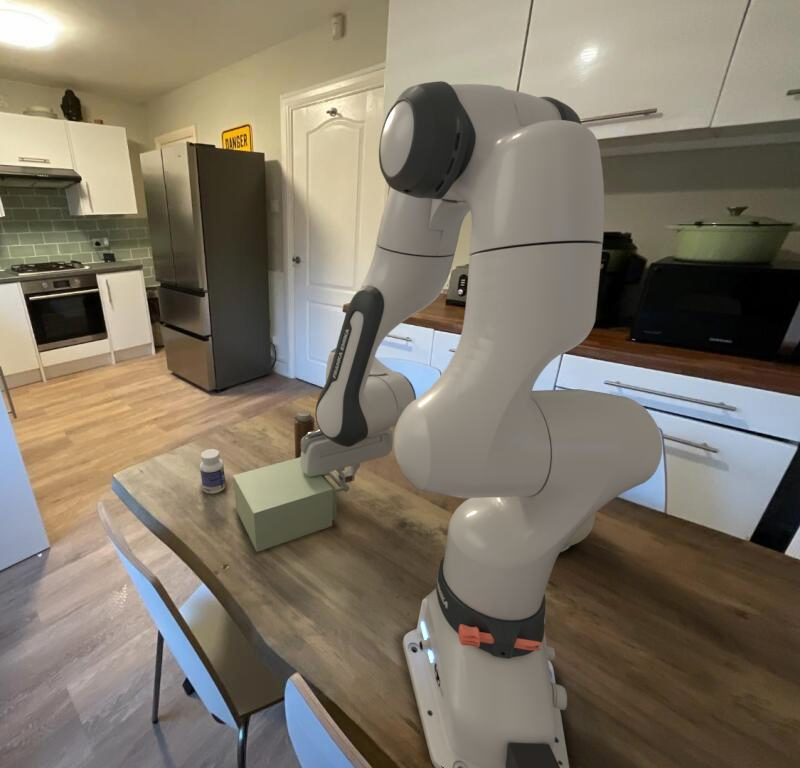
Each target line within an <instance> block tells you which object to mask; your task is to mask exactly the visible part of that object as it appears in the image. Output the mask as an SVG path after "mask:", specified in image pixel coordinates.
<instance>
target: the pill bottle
mask: <svg viewBox="0 0 800 768" xmlns="http://www.w3.org/2000/svg"><path fill="white" fill-rule="evenodd" d="M200 458H201V462H200V463H199V472H200V478H201V486H202V490H203V492H204V493H207V494H212V495H213V494H217V493H220V492H223V491H224V489H225V488H226V474H225V467H224V461H223V460H222V459H221V456H220V451H219V450H218V449H215V448H209V449H206V450H204V451H202V452H201V454H200Z"/></svg>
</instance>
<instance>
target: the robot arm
mask: <svg viewBox="0 0 800 768" xmlns="http://www.w3.org/2000/svg"><path fill="white" fill-rule="evenodd" d="M378 161H379V162H378V163H379V168H380V169H379V170H380V171H381V174H382V176H383V178H384V180H385V182H386V184H387V186H389V187H390V189H389V192H388V195H387V198H386V202H385V205H384V206H383V207H384V208H383V211H382V215H381V218H380V223H379V228H378V232H377V237H376V244H375V248H374V252H373V257H372V260H371V263H370V265H369V269H368V271H367V273H366V275H365V278H364V280H363V282H362V284H361V286H360V288H359V289H358V290H357V292H356V293H355V294H354V295H353V296H352V298H351V300H350V302H349V304H348V307H347V310H346V314H345V316H344V319H343V322H342V325H341V329H340V334H339V336H338V339H337V343H336V347H335V348H333V349H332V350H331V351H330V352H329V355H328V356H327V357H328V358H327V363H326V371H325V384H324V385H323V388H322V390H321V391H320V394H319V396H318V399H317V402H316V406H315V413H314V415H315V421H316V424H317V427H318V430H315V431H311V432H308V433H307V435H305V436H304V437H303V438H302V439H301V458H300V467H301V469H302V470H303V472H304V473H305V474H306V475H308V476H309V477H314V476H317V475H320V474H324V473H327V472H331V471H334V472H337V475H338V476H339V477H340V478H341V479H342V480H343V481H344V482H345V483H346V484H348V483H351V482H354V481H355V475H356V474H357V472H358V470H359V469H360V467H361V464H362V463H365V462H369V461H372V460H377V459H380V458H384V457H387V456H389V455H390V453H391V452H392V450H393V453H394V458H395V460H396V463H397V465H398V467H399V469H400V472H401V473H402V474H403V476H404V477H405V479H406V480H407V481H408V482H409V483H410V484H411V486H413V487H414V488H415V489H416V490H418V491H420V492H426V493H429V494H436V495H441V496H447V497H453V498H459V499H466V500H464V502H462V503H461V504H460V505H459V506H458V507H457V508H456V509H455V510H454V512H453V514H452V515H451V518H450V520H449V522H448V528H447V537H446V543H445V550H444V555H443V557H442V558H441V560H440V563H439V566H438V568H437V573H436V584H435V588H434V589H433V590H432V591H431V592H429V594H427V595H426V596H425V597H424V598H423V599H422V601H421V606H420V610H419V615H418V619H417V620H418V621H417V626H416V628H415V629H413V630H410V631H408V632H407V633H406V634H405V635H404V636H403V640H402V648H403V652H404V656H405V659H406V664H407V668H408V672H409V676H410V680H411V685H412V689H413V693H414V696H415V700H416V705H417V709H418V713H419V717H420V721H421V725H422V729H423V733H424V737H425V741H426V745H427V749H428V754H429V758H430V760H431V763H432V765H433V767H434V768H442V767H444V768H570V763H569V757H568V751H567V745H566V738H565V733H564V727H563V720H562V713H561V711H565V710H567V706H568V695H567V690H566V688H565V687H564V686H563V685H560V684H557V683H556V676H555V671H554V666H553V664H552V662H551V661H555V659H556V652H555V647H552V646H549V645H547V640H546V639H547V638H546V632H545V625H546V621H547V608H546V607H547V606H546V602H547V600H546V590H547V586H548V583H549V581H550V578H551V574H552V571H553V569H554V566H555V564H556V561H557V558H558V557H559V555H560V553H561V552H560V551H561V550H562V548H563V547H564V546H565V544H566V543H567V542H568V540H569V539H570V538H571V537H572V536H573V535H574V533H575V532H576V531H577V530H578V529H579V528H580V527H581V526H582V525H583V524H584V523H585V522H586V521H587V520H588V519H589V518H590V517H591V516H592V515H593V514H594V513H595V514H596V513H597V512H598V511H599V510H601V509H602V508H603V507H604V506H605V505H607V504H609V502H611V501H612V500H614V499H616V498H617V497H619V496H621V495H622V494H624V493H626V492H628V491H629V490H632V489H633V488H636V487H638V486H640V485H643V484H645V483H646V482H648V481H649V480H650V479H651V478H652V477H653V476H654V475H655V473H656V472H657V470H658V468H659V466H660V463H661V461H662V456H663V439H662V435H661V431H660V429H659V426H658V423H657V422H656V420H655V419H654V417H653V416H652V415H651V413H650V412H649V411H648V410H647V409H646V407H644V405H642V404H641V403H639V402H638V401H636V400H634V399H632V398H630V397H627V396H623V395H619V394H613V393H608V392H601V391H595V390H590V389H589V390H588V389H579V388H574V389H573V388H571V389H542V390H540V389H537V390H534V386H535V384H536V382H537V380H538V379H539V377H540V375H541V374H542V373H543V372H544V370H545V369H546V368H547V366H549V364H550V363H552V362H553V360H555V359H556V358H558V357H559V356H561V355H563V354H565V353H566V352H568V351H570V350H572V349H574V348H575V347H577V346H579V345H580V344H581V343H583V342H584V341H585V340H586V339H587V338H588V336H589V335H590V333H591V331H592V330H593V328H594V325H595V323H596V316H597V306H598V295H599V286H600V276H601V275H600V274H601V264H602V254H603V244H604V233H605V232H604V231H605V183H604V174H603V164H602V157H601V150H600V145H599V141H598V139H597V137H596V135H595V133H594V132H593V131H592V130H591V129H590V128H588V127H587V126H586V125H584V124H582V120H581V119H580V116H579V115H578V114H577V112H576V111H575V110H574V109H573V108H572V107H570V106H569V105H568V104H566V103H564V102H562V101H561V100H558V99H556V98H554V97H550V96H535V95H532V94H529V93H525V92H523V91H522V92H521V91H517V90H514V89H513V90H512V89H507V88H505V87H503V86H499V85H491V84H481V83H479V84H477V83H458V84H457V83H456V84H449V83H448V82H446V81H443V80H440V81H439V80H438V81H429V82H423V83H419V84H415V85H412V86H410V87H408V88H406V89H405V90H404V91H402V92H401V94H400V95H399V96H398V97H397V99H396V100H395V101H394V103H393V104H392V106H391V107H390V108H389V110H388V113H387V115H386V117H385V119H384V122H383V125H382V129H381V132H380V138H379V144H378ZM469 212H470V214H471V227H470V228H471V229H470V238H469V250H468V251H469V253H468V256H469V257H468V276H467V289H466V299H465V300H466V301H465V308H464V309H465V310H464V316H463V324H462V330H461V334H460V337H459V341H458V344H457V345H456V348H455V351H454V353H453V355H452V357H451V358H450V360H449V362H448V363H447V366H446V367H445V368H444V370H443V371H442V373H441V374H440V376H439V377H438V378H437V379H436V381H435V382H434V383H433V384H432V385H431V386H430V387H429V388H428V389H426V391H425V392H424V393H422V394H420V396H418V397H417V394H416V391H415V388H414V385H413V384H412V382H411V380H409V378H408V377H407V376H405V375H404V374H403V373H401V372H398V371H395V370H392V369H391V368H389V367H388V366H386V365H385V364H384V363H383V362H381V361H380V360H379V359H378V358H377V357H376V354H377V351H378V350H379V347H380V345H381V344H382V342H383V341H384V340H385V339H386V337H387V336H388V335H389V334H390V333H391V332H392V331H393V330H394V329H395V328H397V327H398V326H399V325H401V324H402V323H403V322H405V321H406V320H408V319H409V318H411V317H412V316H414V315H415V314H417V313H419V312H421V311H422V310H424V309H425V308H428V306H430V305H431V304H432V303H433V302H435V300H436V299H438V298H439V296H440V295H441V293H442V291H443V289H444V287H445V285H446V283H447V281H448V278H449V277H450V272H451V270H452V266H453V264H454V263H453V261H454V259H455V254H456V251H457V246H458V242H459V237H460V233H461V229H462V225H463V222H464V220H465V218H466V216H467V215H468V213H469ZM394 426H395V427H394ZM392 427H394V431H393V430H392V429H391V428H392ZM346 468H348V469H347V470H346ZM345 470H346V471H345ZM414 651H415V652H414ZM441 766H442V767H441Z"/></svg>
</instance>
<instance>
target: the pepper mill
mask: <svg viewBox="0 0 800 768" xmlns="http://www.w3.org/2000/svg"><path fill="white" fill-rule="evenodd" d="M293 429H294V430H293V432H294V459H295V458H299V457H301V439H302V438H303V437H304V436H305V435H307V433H308V432H311V431H316V430H315V429H316V428H315V417H314V416H312V412H311V411H310V410H308V409H301V410H299V411H297V413H296V416H295V417H294V418H293Z"/></svg>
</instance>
